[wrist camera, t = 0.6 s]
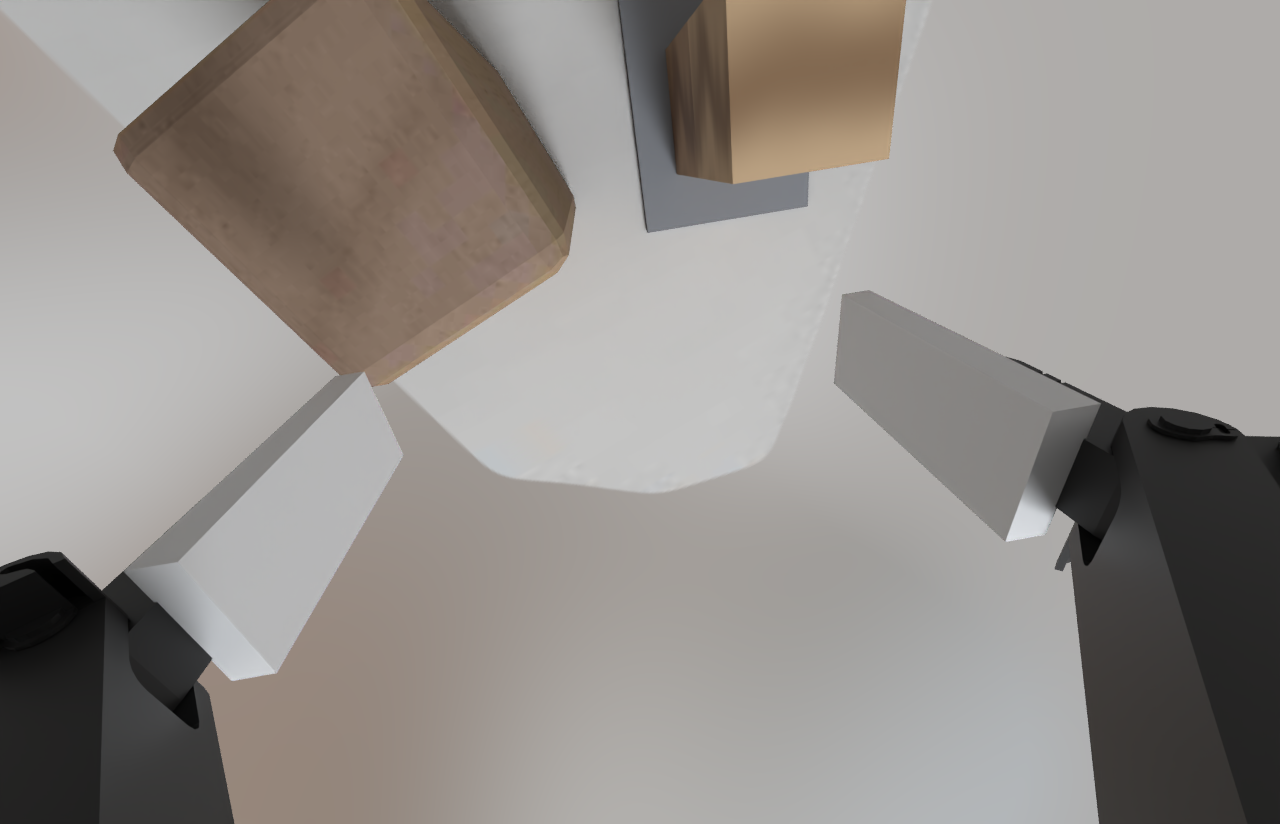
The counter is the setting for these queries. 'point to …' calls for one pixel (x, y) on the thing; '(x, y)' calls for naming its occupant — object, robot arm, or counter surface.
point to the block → (357, 177)
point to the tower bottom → (682, 104)
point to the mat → (649, 24)
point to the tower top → (792, 85)
